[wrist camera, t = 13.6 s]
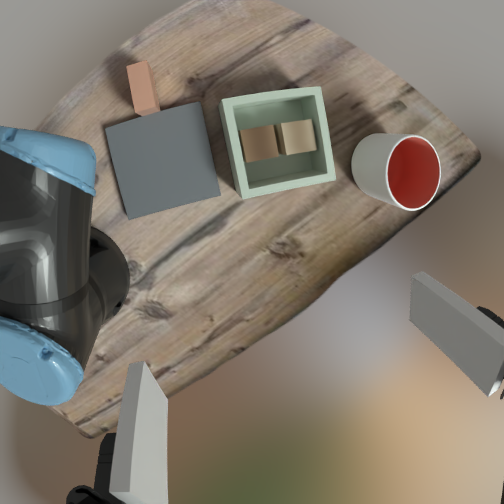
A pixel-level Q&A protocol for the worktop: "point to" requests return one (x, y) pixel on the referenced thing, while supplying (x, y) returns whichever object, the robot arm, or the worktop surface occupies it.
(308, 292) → the worktop surface
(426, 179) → the cup
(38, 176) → the robot arm
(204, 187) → the lid
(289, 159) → the tub
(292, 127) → the part
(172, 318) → the worktop surface
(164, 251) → the worktop surface
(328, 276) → the worktop surface
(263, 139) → the part
